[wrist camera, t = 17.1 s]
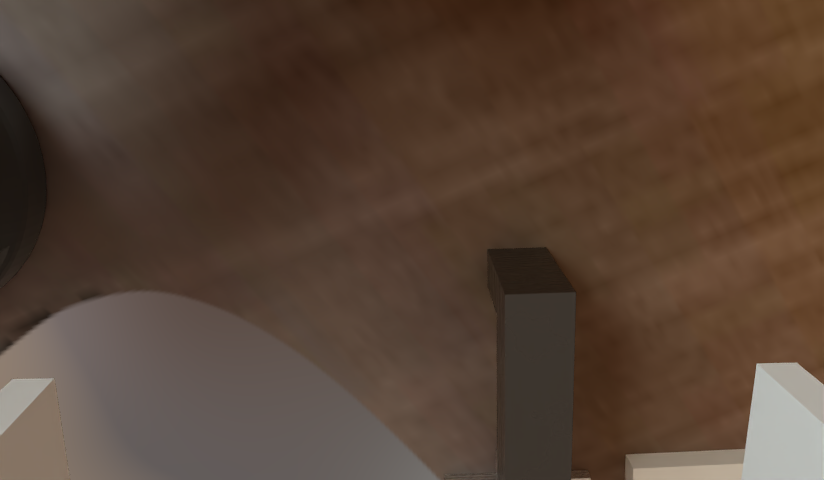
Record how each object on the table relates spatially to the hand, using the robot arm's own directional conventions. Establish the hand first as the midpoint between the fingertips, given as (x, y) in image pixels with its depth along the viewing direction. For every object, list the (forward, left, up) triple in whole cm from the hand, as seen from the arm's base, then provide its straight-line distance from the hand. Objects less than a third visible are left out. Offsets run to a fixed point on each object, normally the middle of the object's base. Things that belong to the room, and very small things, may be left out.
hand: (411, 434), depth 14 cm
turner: (+5, -13, -24) cm, 28 cm away
